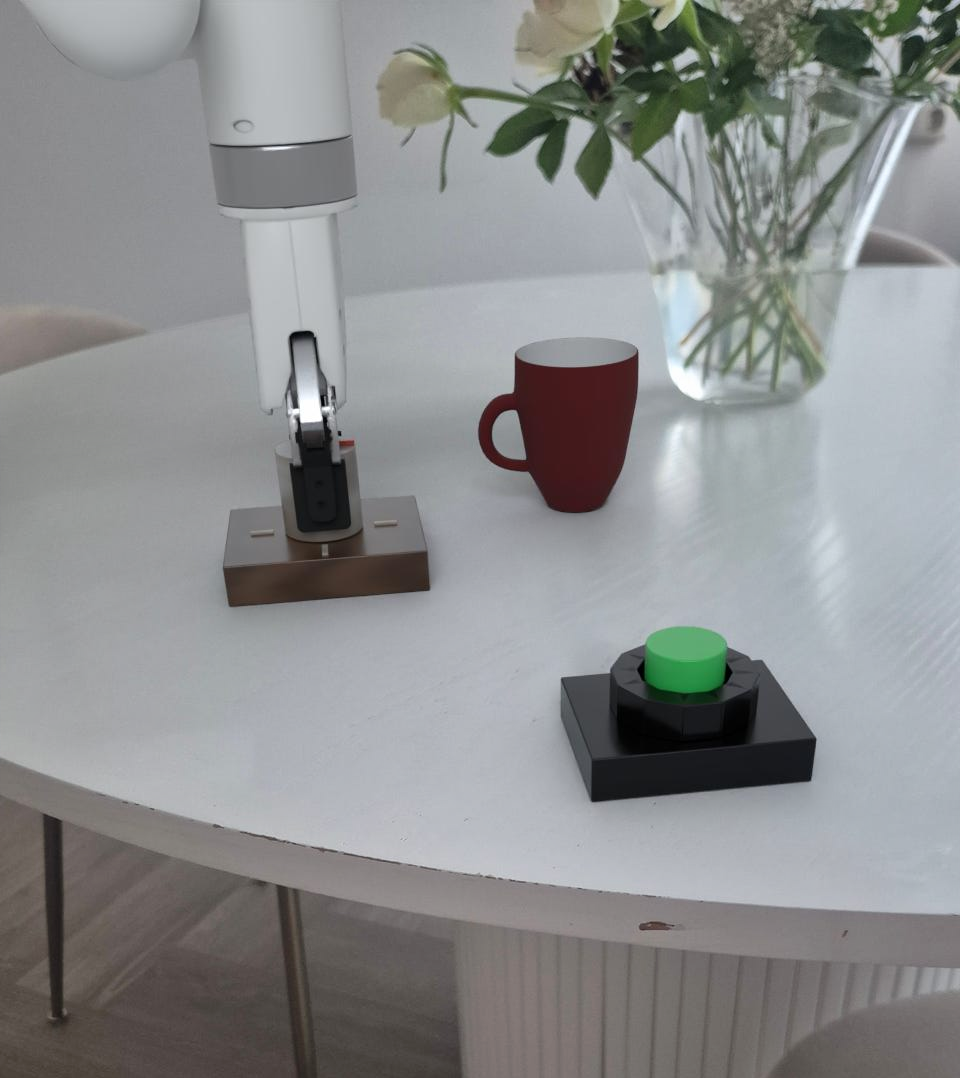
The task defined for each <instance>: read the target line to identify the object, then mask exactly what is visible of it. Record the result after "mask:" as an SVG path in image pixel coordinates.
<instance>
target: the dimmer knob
mask: <svg viewBox="0 0 960 1078" xmlns="http://www.w3.org/2000/svg"><path fill="white" fill-rule="evenodd" d="M338 439H339V448H340V458H341V459H345V465H346V475H347V484H348V494H349V504H350V514H351V526H350V527H349V528H348V529H342V530H330V531H318V532H307V533H303V532H300V531H299V530H298V528H297V521H296V513H295V506H294V498H293V490H292V482H291V474H290V466H289V463H293V459H292V451H291V442H290V440H289V439H288V440H285V441H283V442H281V443H279V444H277V446H275V448H274V456H275V463H276V472H277V479H278V480H277V481H278V487H279V494H280V502H281V506H282V511H283V518H284V526H285V532H286V534H287V535H288V536H289V537H291V538H293V539H296V540H300V541H307V542H326V541H334V540H339V539H343V538H346V537H349V536H352V535H354V534H356V533H357V532H359V531H360V530H361V529H362V527H363V520H362V509H361V491H360V490H361V489H360V479H359V470H358V469H359V467H358V458H357V448H356V447H357V445H356V442H355V437H346V436H338ZM329 446H330V444H329ZM330 451H331V447H330ZM331 460H332V457H331ZM302 462H303V461H302Z"/></svg>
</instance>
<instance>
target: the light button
mask: <svg viewBox="0 0 960 1078" xmlns="http://www.w3.org/2000/svg"><path fill="white" fill-rule="evenodd" d="M644 645H645V670H644V678H645V681H646V682H647V683H648V684H650V685H652V686H654V687H656V688H658V689H661V690H668V691H674V692H681V693H693V692H704V691H710V690H712V689H715V688H717V687H719V686H721V685H722V684H723V683H724V680H725V668H726V655H727V647H728V642H727V640H726V638H725V637H723V635H721V634H720V633H719V632H718V633H717V632H715V631H713V630H711V629H707V628H704V627H698V626H685V625H683V626H681V625H680V626H671V627H665V628H662V629H659V630H656V631H655V632H653V633H651V634H650V635H649V636H648V637H647V638H646V640H645V643H644Z"/></svg>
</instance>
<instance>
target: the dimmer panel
mask: <svg viewBox="0 0 960 1078" xmlns="http://www.w3.org/2000/svg"><path fill="white" fill-rule="evenodd" d="M360 499H361V498H360ZM361 509H362V520H363V527H362V529H361V530H360V531H359V532H357V533H356V534H354V535H352V536H349V537H346V538H343V539H339V540H334V541H326V542H307V541H300V540H296V539H293V538H291V537H289V536H288V535H287V534H286V532H285V526H284V518H283V511H282V505H271V506H257V507H245V508H244V507H243V508H231V509H230V510H229V516H228V517H229V518H228V526H227V533H226V539H225V548H224V556H223V561H222V572H223V579H224V584H225V591H226V597H227V603H228V607H239V606H241V607H242V606H251V605H263V604H266V605H267V604H277V603H287V602H288V603H290V602H301V601H313V600H321V599H322V600H325V599H336V598H337V599H339V598H348V597H361V596H371V595H372V596H373V595H386V594H398V593H409V592H421V591H430V590H431V583H430V569H429V568H430V566H429V552H428V548H427V543H426V538H425V534H424V530H423V525H422V521H421V516H420V512H419V507H418V504H417V499H416V495H401V496H400V495H399V496H387V497H374V498H362V499H361Z"/></svg>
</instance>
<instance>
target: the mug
mask: <svg viewBox="0 0 960 1078" xmlns="http://www.w3.org/2000/svg"><path fill="white" fill-rule="evenodd" d="M639 354H640V353H639V349H638V348H637V347H636V346H635V345H634V344H632V343H629V342H626V341H622V340H618V339H613V338H606V337H605V338H604V337H589V336H586V337H582V336H580V337H577V336H576V337H562V338H561V337H560V338H551V339H546V340H545V339H544V340H541V341H535V342H532V343H528V344H526V345H523V346H521V347H519V348H518V349H517V350H516V351H515V352H514V378H513V379H514V380H513V392H511V393H503V394H500V395H497V396H496V397H494V398H493V399H491V400H490V401H489V402H488V404H487V405H486V407H485V408H484V410H483V411H482V413H481V415H480V419H479V422H478V428H477V439H478V442H479V446H480V449H481V451H482V453H483V455H484V457H485V458H486V459H488V460H489V462H490V463H492V464H493V465H494V466H496V467H499V468H501V469H504V470H507V471H513V472H518V473H519V472H520V473H528V474H529V475H530V476H531V478H532V480H533V482H534V483H535V485H536V487H537V489H538V490H539V493H540V494H541V496H542V498H543V499H544V501H545V503H546V504H547V505H548V507H549V508H551V509H552V510H555V511H559V512H564V513H585V512H591V511H594V510H597V509H599V508H601V507H602V506H604V505H605V503H606V502H607V500H608V498H609V496H610V494H611V492H612V491H613V489H614V487H615V485H616V483H617V481H618V479H619V477H620V475H621V473H622V471H623V468H624V464H625V461H626V456H627V452H628V447H629V446H628V445H629V440H630V436H631V432H632V431H631V430H632V426H633V421H634V416H635V410H636V406H637V400H638V391H639V370H640V369H639V366H640V365H639V361H640V359H639V358H640V357H639V356H640V355H639ZM509 411H515V412H516V413H517V417H518V422H519V426H520V432H521V437H522V442H523V448H524V453H525V459H518V458H517V459H516V458H511V457H507V456H505V455H503V454H502V453H501V452H499V450H498V449H497V448H496V446H495V444H494V440H493V439H494V438H493V429H494V425H495V423H496V421H497V419H498V418H499V417H500V415H501V414H503V413H505V412H509Z"/></svg>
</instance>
